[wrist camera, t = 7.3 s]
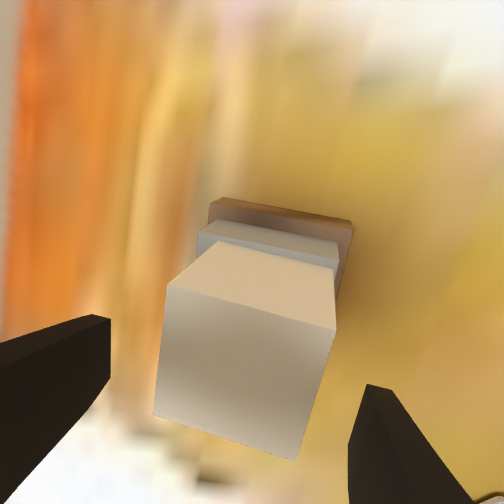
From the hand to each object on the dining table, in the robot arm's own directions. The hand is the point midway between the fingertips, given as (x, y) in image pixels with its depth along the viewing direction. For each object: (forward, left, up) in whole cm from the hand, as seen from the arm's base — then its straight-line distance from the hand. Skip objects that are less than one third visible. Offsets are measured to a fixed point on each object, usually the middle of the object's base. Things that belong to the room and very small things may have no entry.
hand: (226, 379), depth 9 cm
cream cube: (0, 0, -5) cm, 5 cm away
